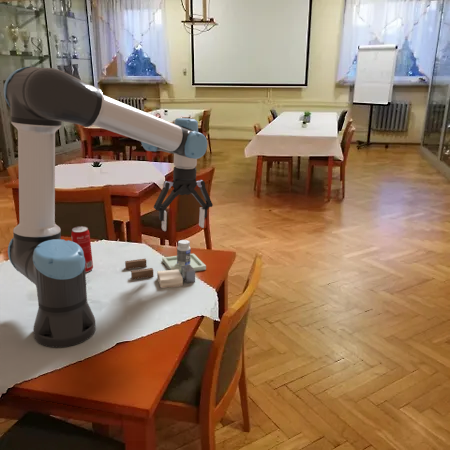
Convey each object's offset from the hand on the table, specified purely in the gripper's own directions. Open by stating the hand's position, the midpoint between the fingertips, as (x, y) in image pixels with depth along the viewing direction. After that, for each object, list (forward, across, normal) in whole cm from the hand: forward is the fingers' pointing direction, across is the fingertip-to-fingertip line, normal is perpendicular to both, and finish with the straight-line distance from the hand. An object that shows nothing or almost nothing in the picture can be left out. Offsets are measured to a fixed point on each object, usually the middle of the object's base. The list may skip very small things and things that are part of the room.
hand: (183, 228), depth 155 cm
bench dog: (+14, +2, +11) cm, 18 cm away
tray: (+14, -1, 0) cm, 14 cm away
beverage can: (+15, +32, -8) cm, 36 cm away
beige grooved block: (+15, +8, +10) cm, 20 cm away
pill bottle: (+14, -1, 0) cm, 14 cm away
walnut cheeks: (+14, +15, 0) cm, 21 cm away
